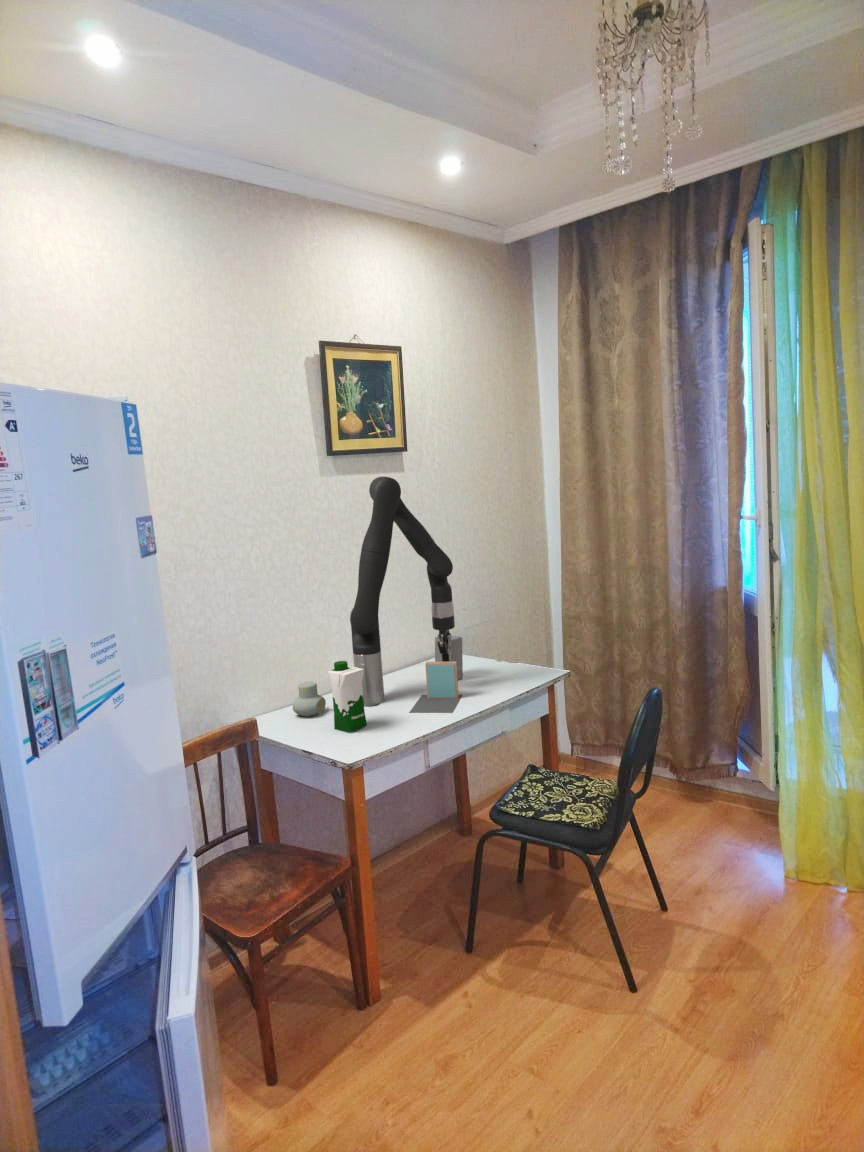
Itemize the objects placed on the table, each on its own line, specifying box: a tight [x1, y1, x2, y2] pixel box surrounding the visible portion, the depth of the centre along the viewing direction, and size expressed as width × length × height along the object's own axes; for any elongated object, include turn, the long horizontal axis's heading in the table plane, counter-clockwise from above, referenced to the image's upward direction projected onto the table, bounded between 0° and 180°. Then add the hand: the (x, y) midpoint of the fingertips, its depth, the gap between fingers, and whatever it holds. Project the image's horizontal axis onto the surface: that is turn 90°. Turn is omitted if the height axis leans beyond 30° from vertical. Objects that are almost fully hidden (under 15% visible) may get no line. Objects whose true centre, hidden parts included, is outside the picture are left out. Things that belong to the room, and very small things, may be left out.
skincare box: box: [434, 634, 464, 681], centre depth 274 cm, size 8×7×16 cm
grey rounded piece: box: [292, 681, 326, 717], centre depth 245 cm, size 11×8×10 cm
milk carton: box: [327, 660, 368, 734], centre depth 228 cm, size 9×9×20 cm
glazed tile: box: [424, 661, 459, 699], centre depth 251 cm, size 10×3×12 cm, turn 78°
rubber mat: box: [408, 694, 463, 714], centre depth 246 cm, size 14×19×1 cm
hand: (446, 664), depth 259 cm, fingers closed
